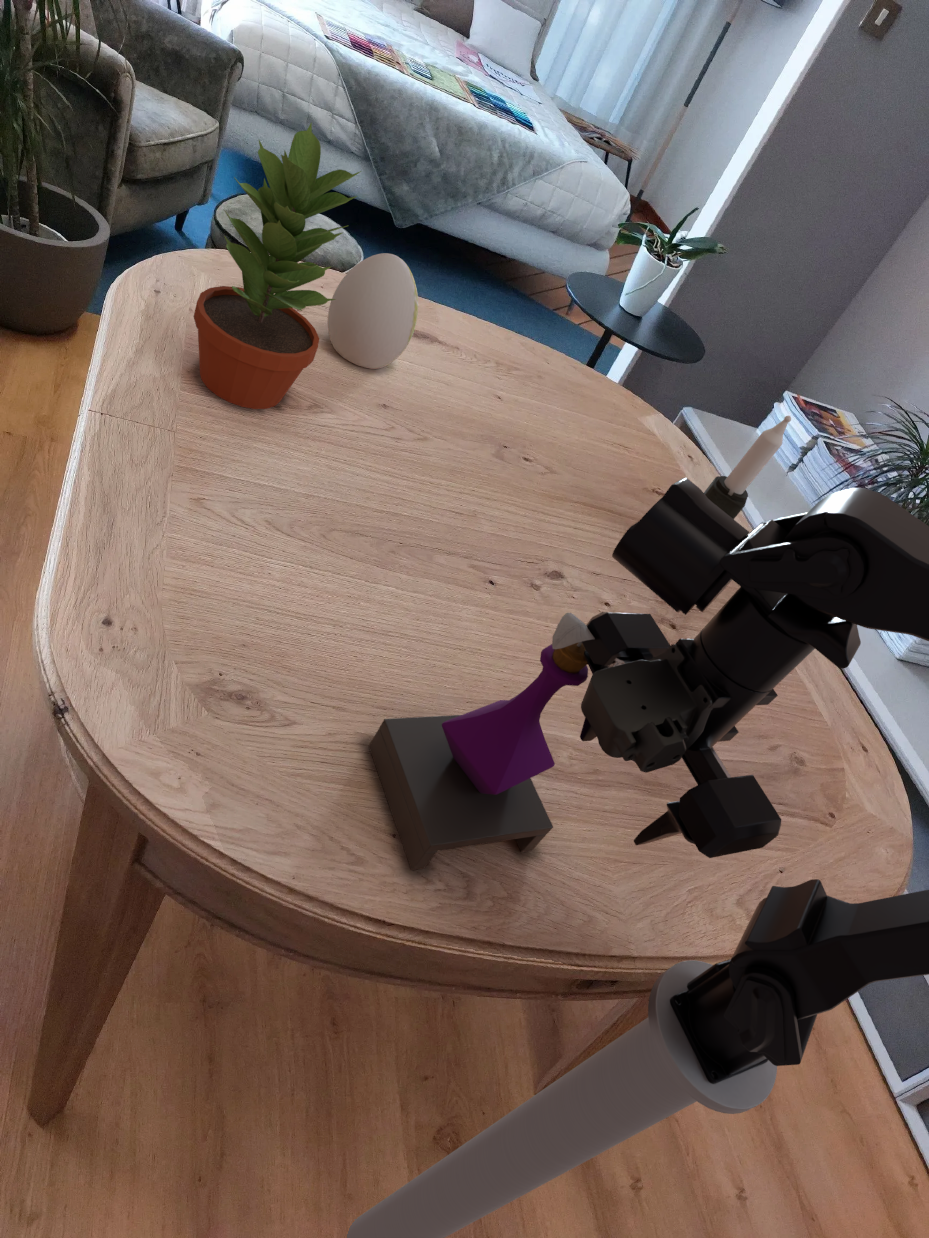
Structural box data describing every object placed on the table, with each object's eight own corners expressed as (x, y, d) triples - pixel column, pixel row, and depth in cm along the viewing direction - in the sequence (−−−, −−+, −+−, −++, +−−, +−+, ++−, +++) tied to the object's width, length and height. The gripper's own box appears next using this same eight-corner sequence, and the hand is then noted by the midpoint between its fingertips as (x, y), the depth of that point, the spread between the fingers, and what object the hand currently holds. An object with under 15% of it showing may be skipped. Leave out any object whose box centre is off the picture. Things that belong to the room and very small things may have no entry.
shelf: (531, 850, 73) (553, 827, 71) (411, 870, 67) (430, 845, 64) (482, 737, 80) (500, 712, 77) (368, 745, 73) (384, 718, 71)
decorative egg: (413, 373, 126) (454, 282, 117) (357, 382, 117) (395, 283, 108) (360, 326, 129) (395, 233, 120) (301, 331, 120) (334, 231, 111)
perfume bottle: (487, 722, 76) (583, 579, 65) (538, 786, 73) (648, 648, 62) (426, 746, 71) (519, 596, 60) (478, 817, 68) (586, 672, 57)
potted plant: (204, 419, 96) (275, 154, 77) (166, 343, 103) (223, 85, 85) (320, 427, 105) (409, 191, 86) (278, 356, 113) (351, 126, 94)
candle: (694, 560, 123) (808, 421, 107) (688, 576, 119) (805, 433, 103) (665, 541, 123) (774, 399, 107) (658, 556, 119) (770, 411, 103)
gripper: (579, 547, 55) (477, 693, 64) (731, 795, 44) (582, 926, 54) (697, 557, 61) (588, 689, 70) (856, 777, 50) (701, 897, 60)
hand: (610, 788), depth 63 cm, fingers open, 9 cm apart
